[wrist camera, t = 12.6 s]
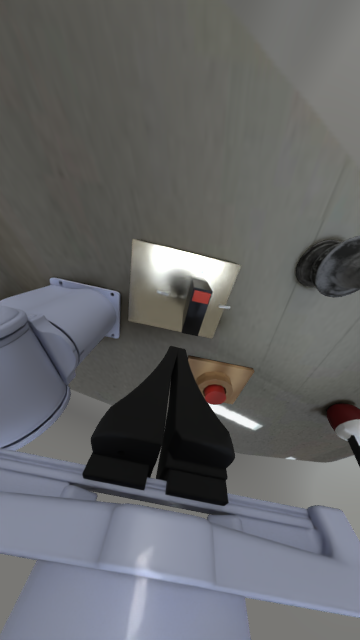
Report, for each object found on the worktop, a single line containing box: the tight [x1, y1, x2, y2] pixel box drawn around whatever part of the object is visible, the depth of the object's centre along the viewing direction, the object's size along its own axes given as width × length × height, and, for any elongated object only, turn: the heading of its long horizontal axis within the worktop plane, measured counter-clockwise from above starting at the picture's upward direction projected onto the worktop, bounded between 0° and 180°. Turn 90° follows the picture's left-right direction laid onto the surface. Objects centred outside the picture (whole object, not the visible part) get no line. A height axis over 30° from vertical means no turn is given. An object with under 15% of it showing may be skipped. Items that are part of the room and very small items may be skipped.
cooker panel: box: [128, 239, 241, 338], centre depth 18 cm, size 13×10×3 cm
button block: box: [188, 356, 254, 404], centre depth 26 cm, size 12×10×2 cm
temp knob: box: [182, 278, 213, 336], centre depth 16 cm, size 5×2×4 cm, turn 167°
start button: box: [204, 384, 226, 405], centre depth 25 cm, size 4×4×2 cm
